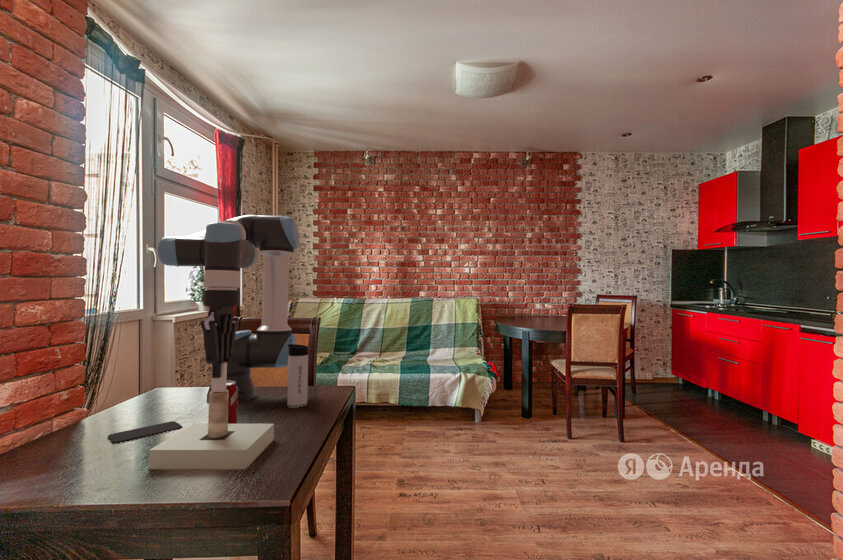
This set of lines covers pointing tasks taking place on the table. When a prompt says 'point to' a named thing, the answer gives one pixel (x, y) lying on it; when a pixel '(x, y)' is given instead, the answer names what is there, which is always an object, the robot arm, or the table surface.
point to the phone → (143, 432)
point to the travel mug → (297, 376)
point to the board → (212, 448)
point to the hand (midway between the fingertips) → (218, 391)
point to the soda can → (232, 402)
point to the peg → (218, 415)
